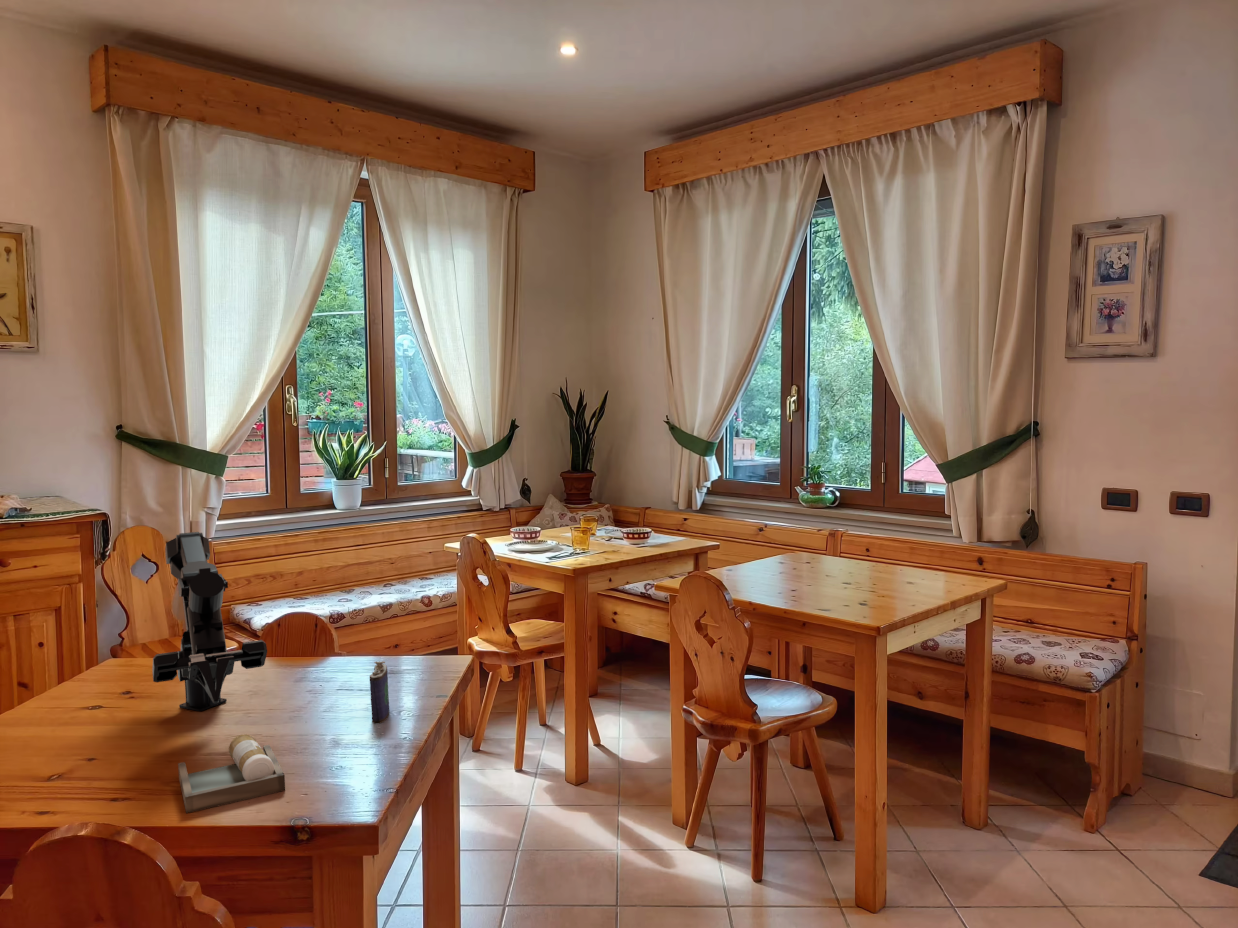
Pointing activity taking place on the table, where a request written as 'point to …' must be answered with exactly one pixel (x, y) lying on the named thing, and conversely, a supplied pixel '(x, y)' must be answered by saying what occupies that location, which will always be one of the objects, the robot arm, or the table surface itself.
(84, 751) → the table surface
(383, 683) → the flask
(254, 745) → the sprinkles bottle
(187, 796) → the tray
